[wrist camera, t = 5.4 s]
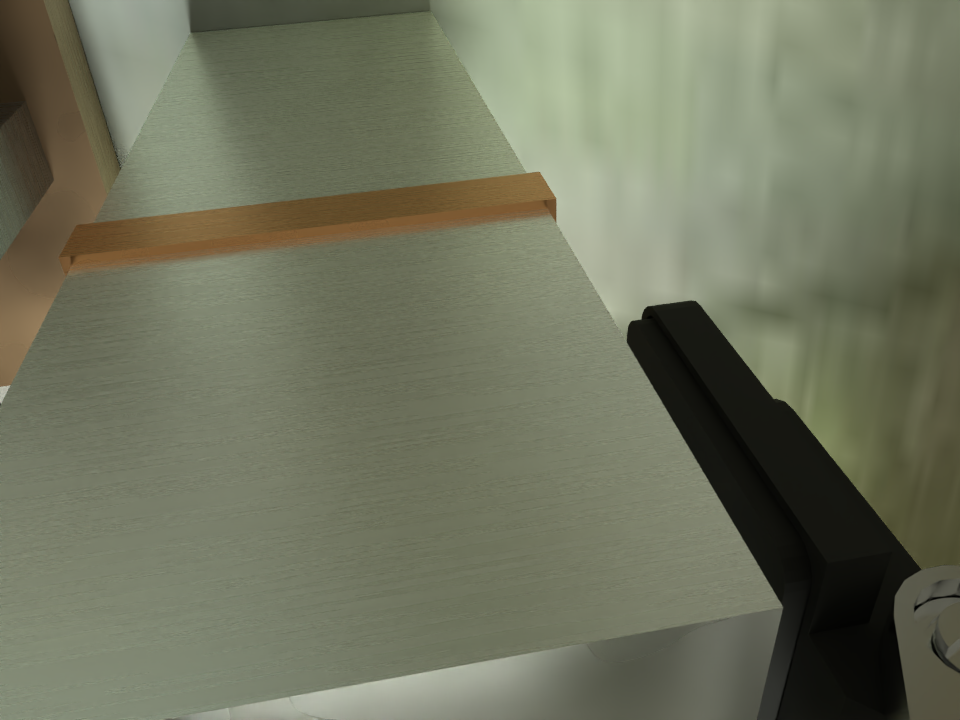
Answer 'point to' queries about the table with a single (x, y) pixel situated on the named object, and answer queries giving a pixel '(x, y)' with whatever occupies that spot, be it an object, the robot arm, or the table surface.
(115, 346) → the white block
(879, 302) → the table surface
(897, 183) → the table surface
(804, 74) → the table surface
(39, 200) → the collar rack
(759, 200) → the table surface
